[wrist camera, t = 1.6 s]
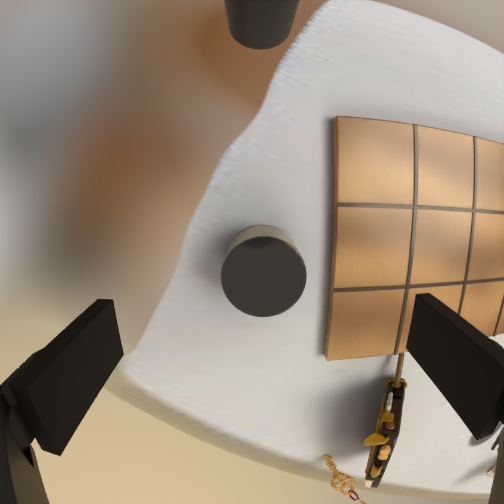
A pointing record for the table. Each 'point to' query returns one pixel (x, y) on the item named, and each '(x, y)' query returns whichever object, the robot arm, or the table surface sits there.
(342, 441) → the table surface
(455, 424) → the table surface
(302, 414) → the table surface
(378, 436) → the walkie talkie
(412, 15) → the table surface
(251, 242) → the dark grey short cylinder
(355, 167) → the game board
